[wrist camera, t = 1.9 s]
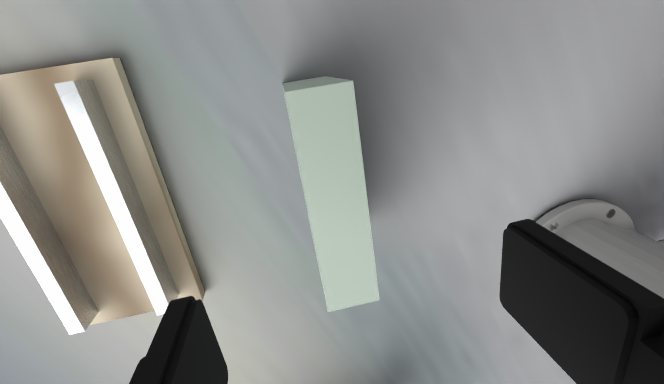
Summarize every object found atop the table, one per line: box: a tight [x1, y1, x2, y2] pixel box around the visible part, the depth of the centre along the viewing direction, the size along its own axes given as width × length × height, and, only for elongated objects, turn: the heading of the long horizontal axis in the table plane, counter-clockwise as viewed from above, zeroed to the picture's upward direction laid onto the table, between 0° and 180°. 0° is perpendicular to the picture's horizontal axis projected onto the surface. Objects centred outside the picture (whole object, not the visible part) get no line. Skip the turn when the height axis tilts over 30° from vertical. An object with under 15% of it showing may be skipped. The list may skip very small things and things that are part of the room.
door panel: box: [282, 76, 379, 312], centre depth 20 cm, size 3×12×9 cm, turn 9°
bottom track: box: [0, 58, 205, 335], centre depth 22 cm, size 10×18×3 cm, turn 9°
